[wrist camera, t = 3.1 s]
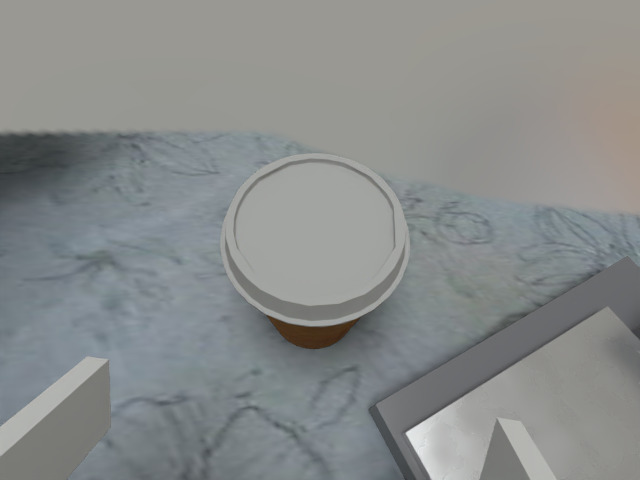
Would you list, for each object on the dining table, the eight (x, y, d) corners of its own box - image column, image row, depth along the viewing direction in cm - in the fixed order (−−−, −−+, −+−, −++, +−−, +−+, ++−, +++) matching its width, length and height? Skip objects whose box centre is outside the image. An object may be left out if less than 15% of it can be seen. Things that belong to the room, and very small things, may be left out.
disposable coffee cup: (332, 401, 25) (350, 363, 14) (223, 323, 27) (171, 242, 17) (398, 291, 29) (448, 199, 19) (298, 232, 31) (292, 121, 21)
